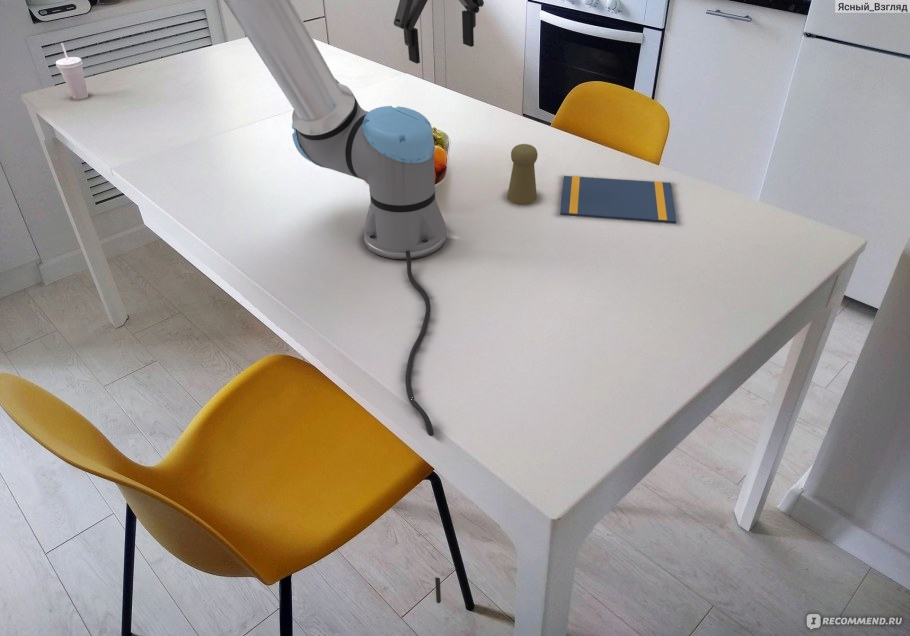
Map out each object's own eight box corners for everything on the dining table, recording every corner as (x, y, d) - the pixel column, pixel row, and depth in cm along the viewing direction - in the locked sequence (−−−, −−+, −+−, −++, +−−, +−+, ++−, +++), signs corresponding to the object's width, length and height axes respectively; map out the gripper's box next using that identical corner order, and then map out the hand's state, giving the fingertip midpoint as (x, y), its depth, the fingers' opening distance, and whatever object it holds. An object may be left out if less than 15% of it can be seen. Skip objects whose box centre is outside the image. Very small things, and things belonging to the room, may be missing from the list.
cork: (535, 205, 142) (538, 154, 135) (505, 203, 143) (506, 152, 136) (538, 191, 147) (541, 141, 140) (509, 189, 148) (511, 139, 141)
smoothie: (89, 90, 196) (71, 38, 187) (96, 97, 192) (79, 44, 184) (64, 96, 193) (45, 43, 184) (72, 103, 189) (53, 49, 180)
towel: (675, 223, 136) (676, 220, 136) (560, 214, 139) (560, 212, 139) (670, 184, 149) (670, 182, 148) (564, 177, 152) (564, 175, 151)
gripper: (476, -78, 139) (478, 33, 153) (367, -54, 128) (380, 63, 142) (501, -72, 134) (501, 42, 148) (390, -47, 123) (401, 74, 137)
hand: (442, 53), depth 145 cm, fingers open, 13 cm apart
